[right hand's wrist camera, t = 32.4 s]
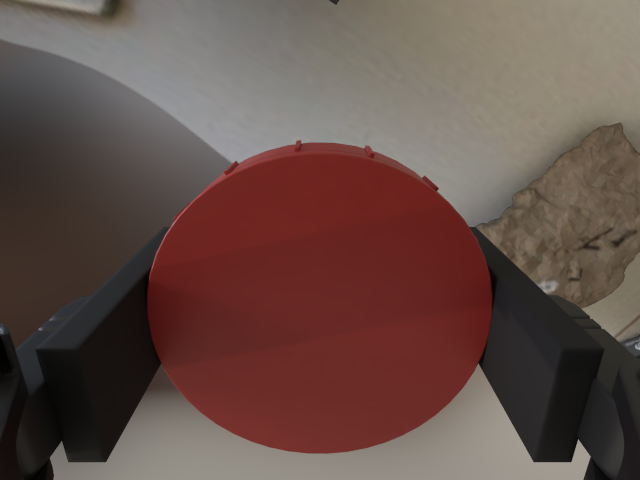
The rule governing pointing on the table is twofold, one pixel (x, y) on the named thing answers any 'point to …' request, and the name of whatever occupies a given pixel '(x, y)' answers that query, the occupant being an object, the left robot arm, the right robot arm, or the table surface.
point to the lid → (319, 299)
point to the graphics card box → (633, 346)
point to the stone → (577, 220)
